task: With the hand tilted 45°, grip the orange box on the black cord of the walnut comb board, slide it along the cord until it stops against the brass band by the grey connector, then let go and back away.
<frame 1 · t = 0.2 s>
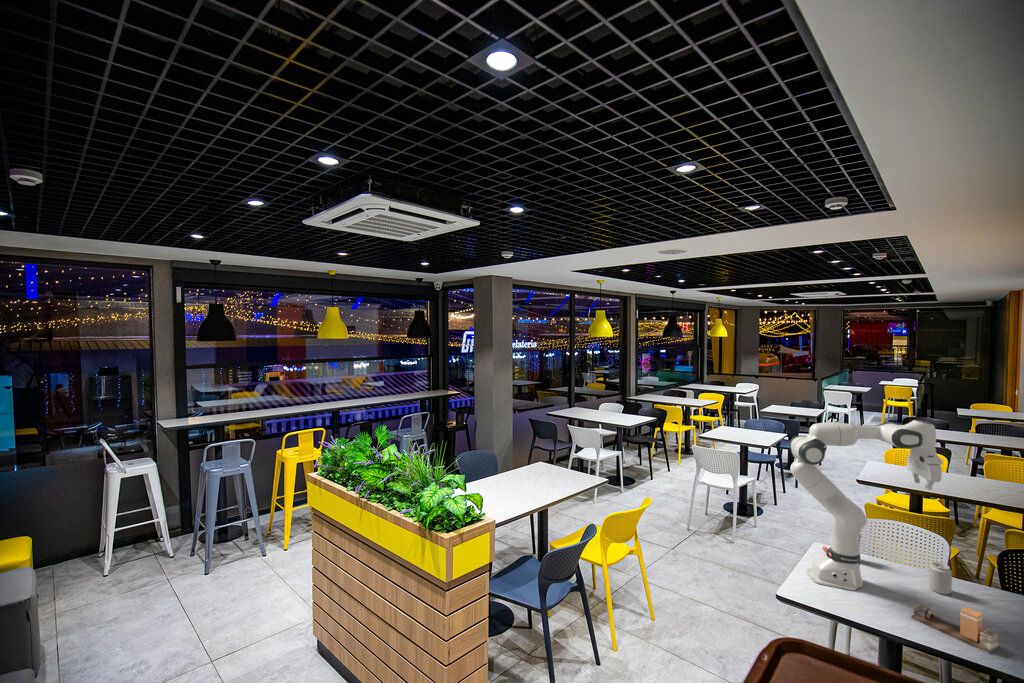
hand: (922, 485, 215), 48 cm above the table, tool pointing down, fingers open, 8 cm apart
can: (940, 591, 215), on the table
orange box: (971, 624, 181), point 6 cm above the table, slide at 5.5 cm
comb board: (953, 631, 186), on the table
drinking cup: (851, 560, 245), on the table
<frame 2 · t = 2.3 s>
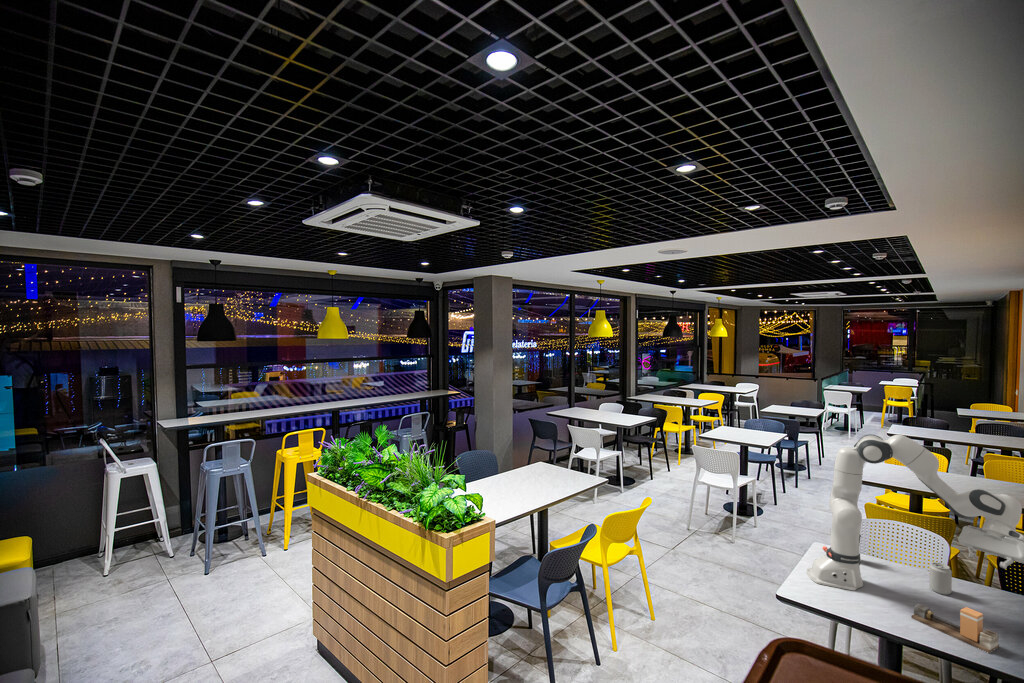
hand: (986, 562, 186), 27 cm above the table, tool tilted 45°, fingers open, 8 cm apart
nothing on the table moved.
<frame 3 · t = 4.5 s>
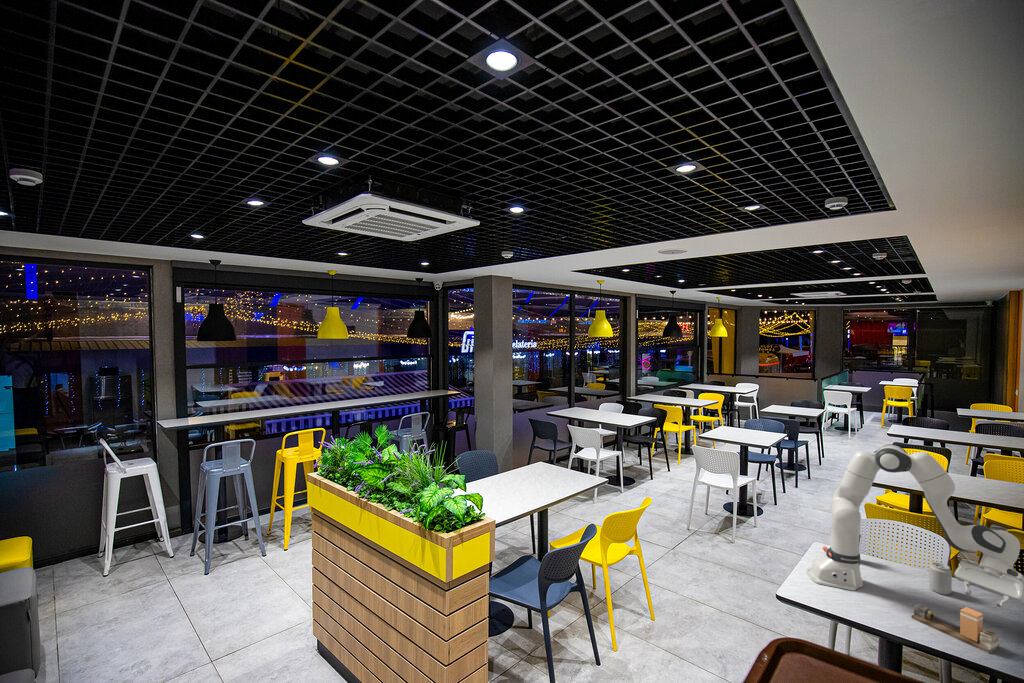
hand: (982, 599, 184), 13 cm above the table, tool tilted 45°, fingers open, 8 cm apart
nothing on the table moved.
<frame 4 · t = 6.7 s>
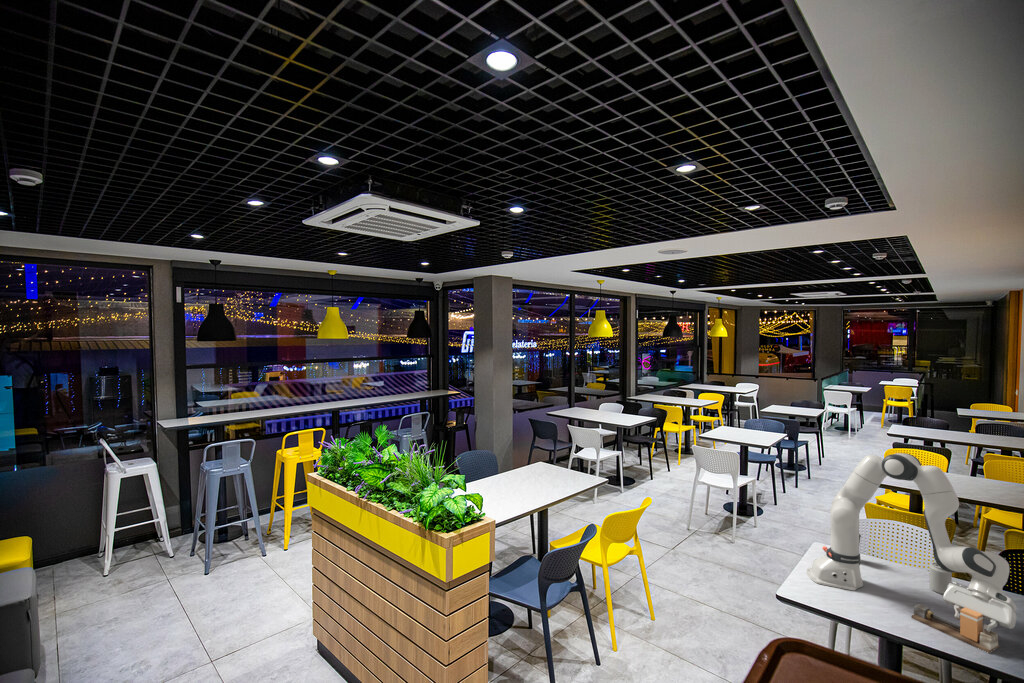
hand: (971, 624, 180), 6 cm above the table, tool tilted 45°, fingers open, 7 cm apart
nothing on the table moved.
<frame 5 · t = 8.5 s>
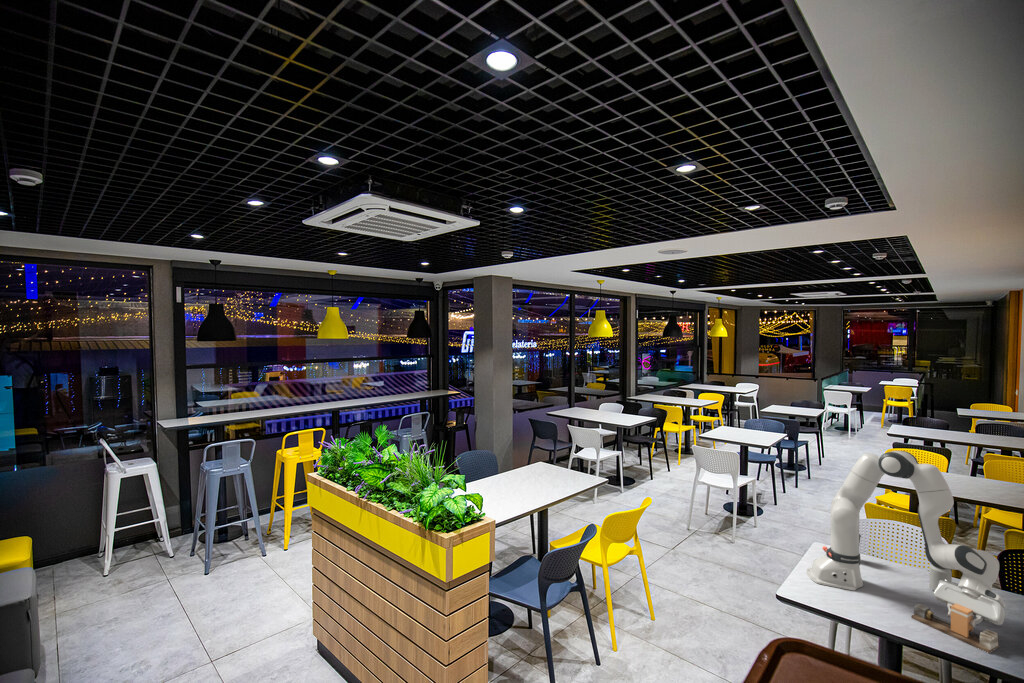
hand: (960, 620, 183), 6 cm above the table, tool tilted 45°, fingers closed on orange box, 5 cm apart
orange box: (961, 620, 183), point 6 cm above the table, slide at 2.6 cm, touching gripper
everything else where it was.
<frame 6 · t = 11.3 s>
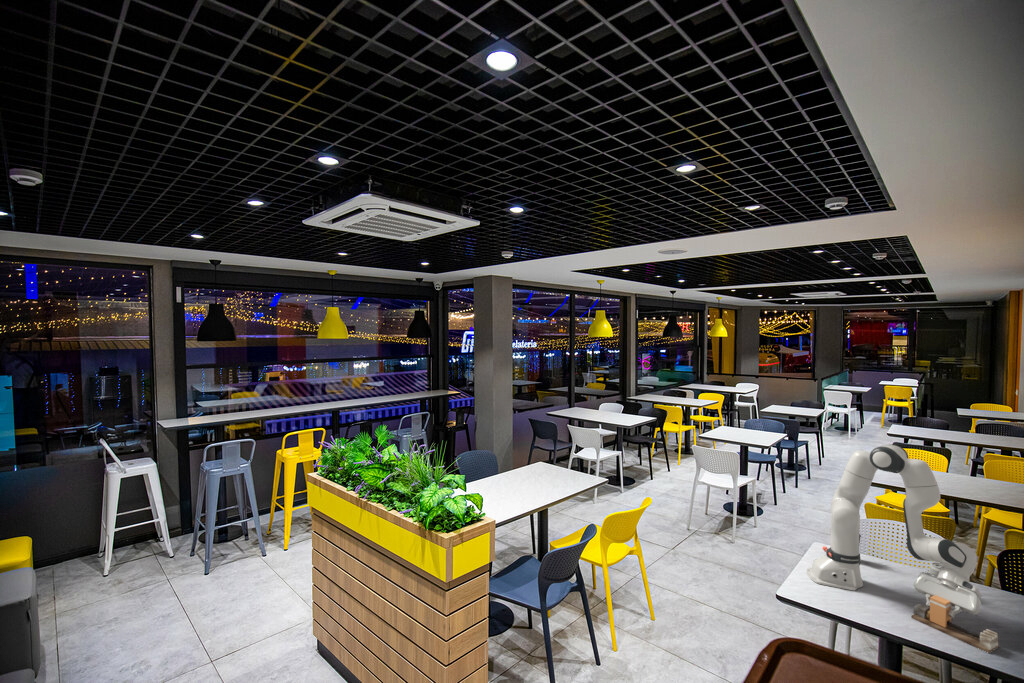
hand: (939, 611, 189), 6 cm above the table, tool tilted 45°, fingers open, 6 cm apart
orange box: (940, 610, 189), point 6 cm above the table, slide at -4.0 cm
everything else where it was.
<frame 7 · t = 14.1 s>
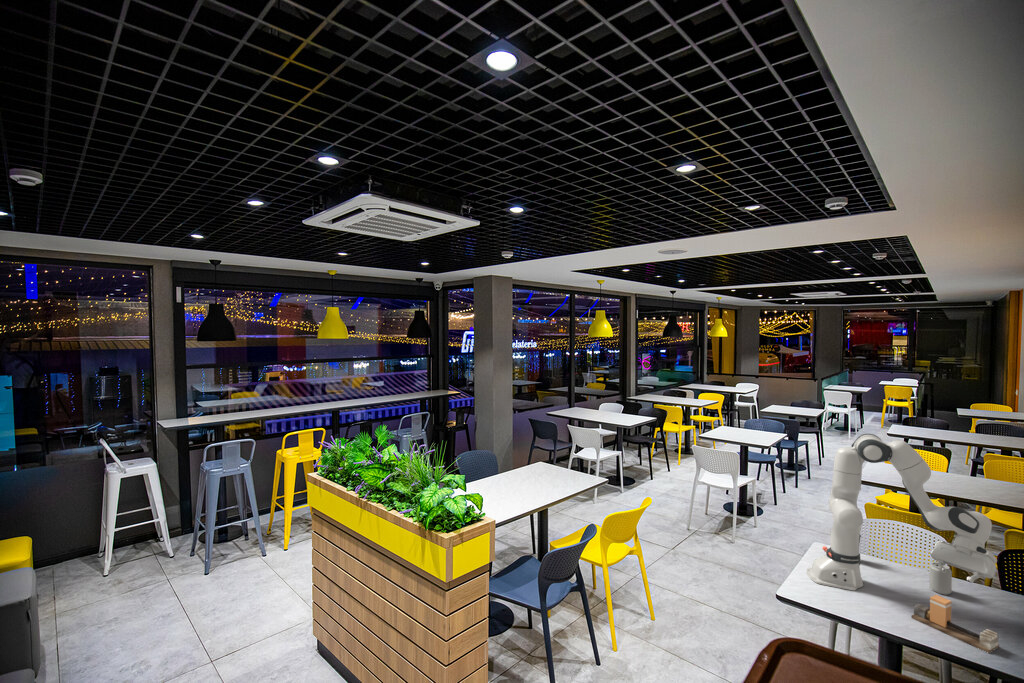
hand: (955, 576, 195), 17 cm above the table, tool tilted 45°, fingers open, 8 cm apart
nothing on the table moved.
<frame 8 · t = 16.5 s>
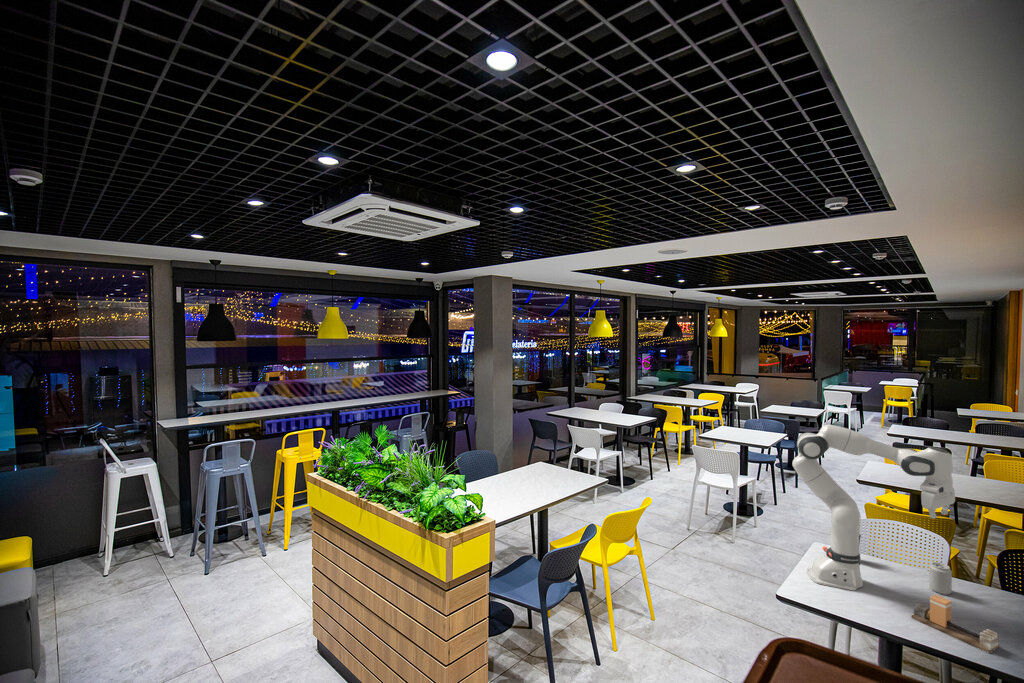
hand: (938, 516, 207), 37 cm above the table, tool pointing down, fingers open, 8 cm apart
nothing on the table moved.
at the end: orange box slide at -4.0 cm; the gripper is holding nothing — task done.
